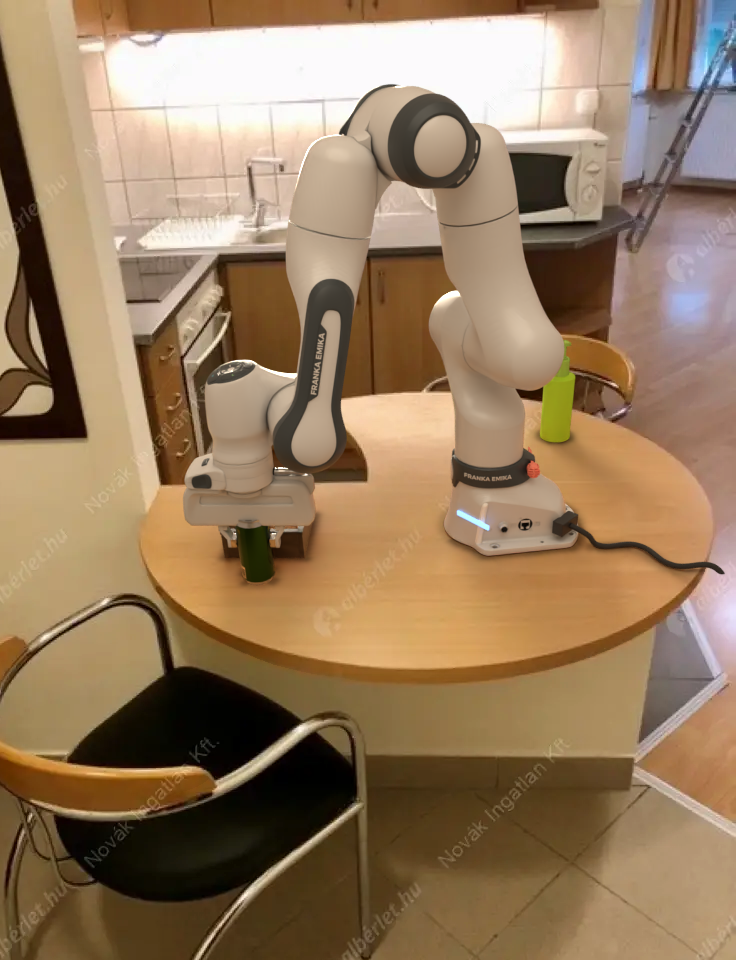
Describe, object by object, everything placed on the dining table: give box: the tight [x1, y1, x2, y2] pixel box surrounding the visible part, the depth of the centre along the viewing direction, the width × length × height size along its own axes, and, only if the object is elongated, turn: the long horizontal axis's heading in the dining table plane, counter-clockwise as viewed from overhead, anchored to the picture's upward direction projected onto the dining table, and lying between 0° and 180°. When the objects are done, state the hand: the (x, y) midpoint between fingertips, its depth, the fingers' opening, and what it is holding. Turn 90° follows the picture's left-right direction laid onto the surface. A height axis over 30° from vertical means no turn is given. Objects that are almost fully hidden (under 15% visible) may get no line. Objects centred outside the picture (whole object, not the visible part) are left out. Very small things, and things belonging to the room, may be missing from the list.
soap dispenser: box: [539, 339, 576, 443], centre depth 169 cm, size 6×7×20 cm
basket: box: [219, 521, 314, 559], centre depth 147 cm, size 14×14×5 cm
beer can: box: [235, 520, 276, 586], centre depth 135 cm, size 5×5×12 cm
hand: (254, 545), depth 135 cm, fingers closed on beer can, 5 cm apart
